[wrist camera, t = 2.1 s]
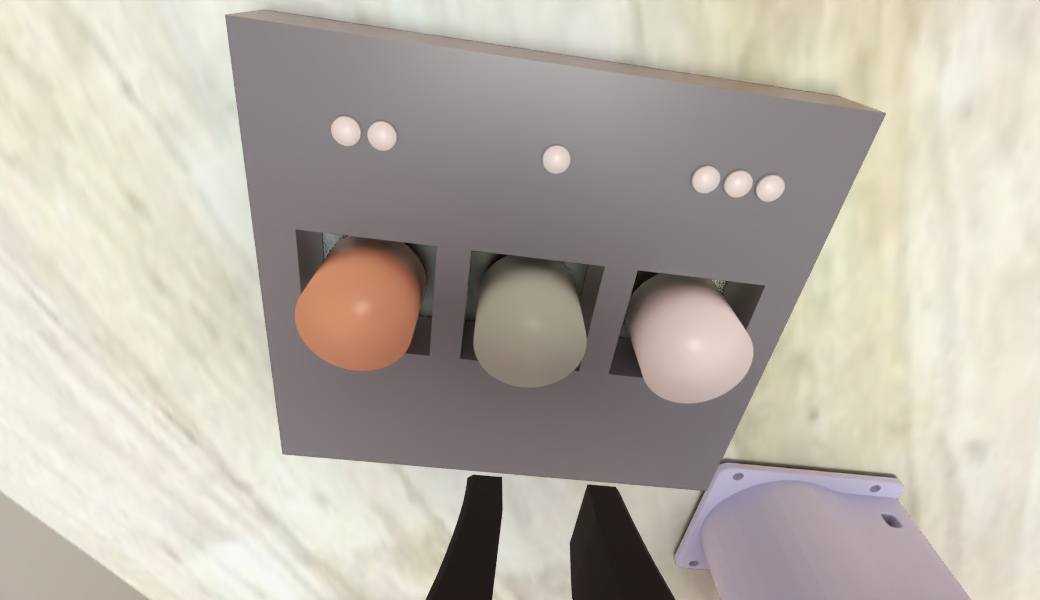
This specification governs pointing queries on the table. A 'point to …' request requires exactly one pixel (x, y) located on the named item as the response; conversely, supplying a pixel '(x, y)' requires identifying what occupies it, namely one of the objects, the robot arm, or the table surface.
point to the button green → (529, 322)
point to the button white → (687, 338)
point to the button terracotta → (362, 304)
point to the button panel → (525, 232)
